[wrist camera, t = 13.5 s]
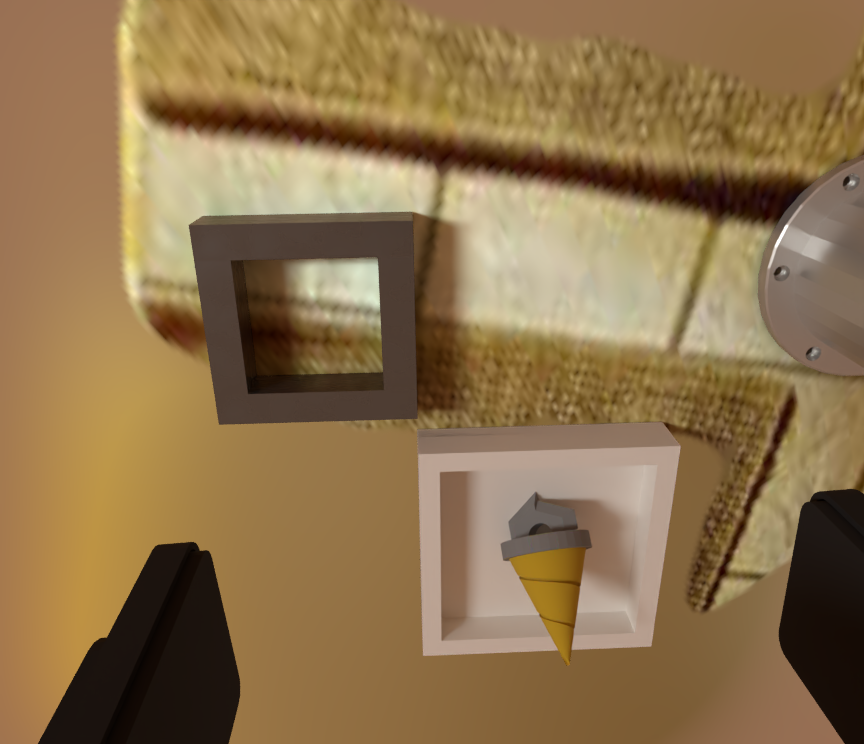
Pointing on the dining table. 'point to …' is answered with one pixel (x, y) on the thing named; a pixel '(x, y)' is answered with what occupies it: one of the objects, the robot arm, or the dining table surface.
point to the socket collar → (231, 329)
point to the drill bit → (549, 565)
